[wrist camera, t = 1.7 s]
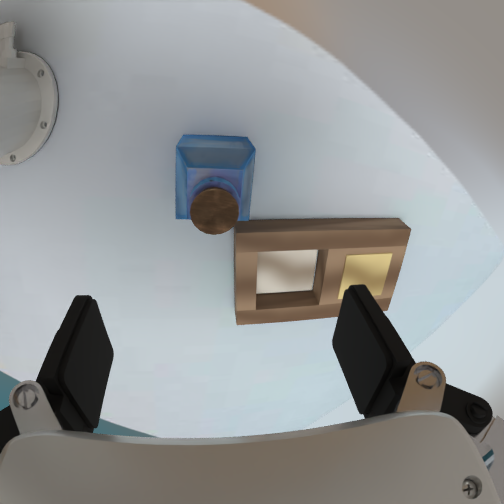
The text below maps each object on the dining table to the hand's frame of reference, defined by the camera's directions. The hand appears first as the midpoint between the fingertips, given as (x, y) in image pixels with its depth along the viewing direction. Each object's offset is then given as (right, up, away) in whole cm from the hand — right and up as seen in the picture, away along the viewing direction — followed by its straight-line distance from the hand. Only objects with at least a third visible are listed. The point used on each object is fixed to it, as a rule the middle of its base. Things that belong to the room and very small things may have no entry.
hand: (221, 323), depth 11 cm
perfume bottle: (-3, +11, +19) cm, 22 cm away
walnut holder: (+9, +1, +26) cm, 28 cm away
